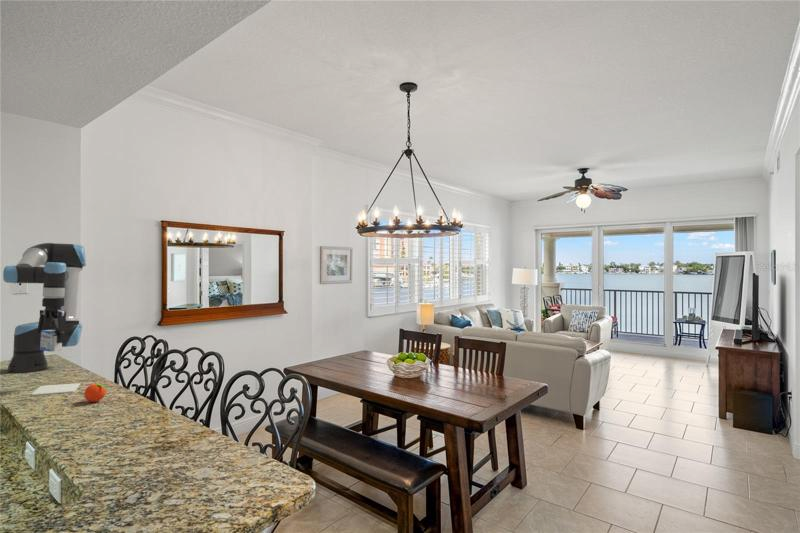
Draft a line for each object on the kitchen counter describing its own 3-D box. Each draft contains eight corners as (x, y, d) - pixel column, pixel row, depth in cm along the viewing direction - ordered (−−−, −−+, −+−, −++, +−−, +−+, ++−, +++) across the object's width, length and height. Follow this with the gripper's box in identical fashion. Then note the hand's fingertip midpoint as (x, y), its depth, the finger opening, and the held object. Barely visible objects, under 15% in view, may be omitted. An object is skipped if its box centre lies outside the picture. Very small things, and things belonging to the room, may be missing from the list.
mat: (40, 387, 184) (40, 385, 184) (80, 384, 190) (80, 383, 190) (30, 395, 171) (30, 394, 171) (73, 392, 178) (74, 391, 178)
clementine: (112, 399, 170) (113, 381, 170) (98, 404, 163) (99, 386, 163) (93, 398, 171) (94, 380, 171) (79, 403, 164) (79, 385, 164)
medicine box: (39, 350, 185) (40, 330, 185) (51, 348, 189) (52, 329, 190) (50, 351, 182) (51, 331, 182) (62, 350, 186) (63, 330, 186)
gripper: (78, 298, 186) (76, 350, 186) (47, 296, 194) (45, 346, 193) (60, 298, 179) (57, 353, 178) (28, 296, 186) (25, 349, 186)
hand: (50, 349), depth 186 cm, fingers closed on medicine box, 8 cm apart
